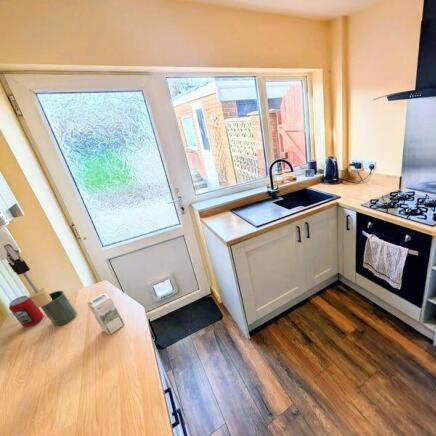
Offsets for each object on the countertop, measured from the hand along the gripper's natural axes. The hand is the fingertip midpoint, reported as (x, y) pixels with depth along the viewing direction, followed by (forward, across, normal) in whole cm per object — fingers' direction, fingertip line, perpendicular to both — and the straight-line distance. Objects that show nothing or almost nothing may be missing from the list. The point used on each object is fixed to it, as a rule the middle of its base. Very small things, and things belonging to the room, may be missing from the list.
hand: (22, 270), depth 85 cm
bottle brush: (+15, 0, 0) cm, 15 cm away
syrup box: (+30, +17, +11) cm, 36 cm away
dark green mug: (+30, -8, +3) cm, 31 cm away
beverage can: (+30, -20, -4) cm, 37 cm away
